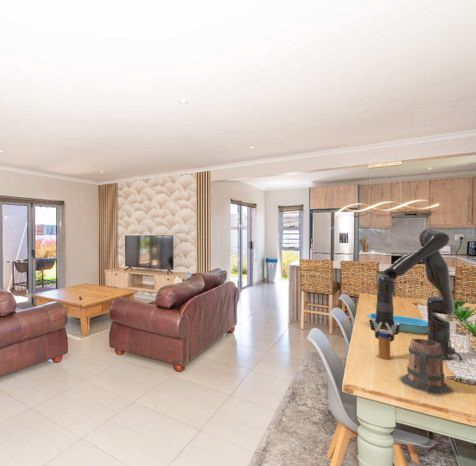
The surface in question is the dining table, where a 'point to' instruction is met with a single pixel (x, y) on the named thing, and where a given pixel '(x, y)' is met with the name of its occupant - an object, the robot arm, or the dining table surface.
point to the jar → (384, 348)
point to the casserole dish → (406, 324)
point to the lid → (384, 334)
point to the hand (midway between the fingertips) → (384, 339)
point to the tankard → (426, 367)
